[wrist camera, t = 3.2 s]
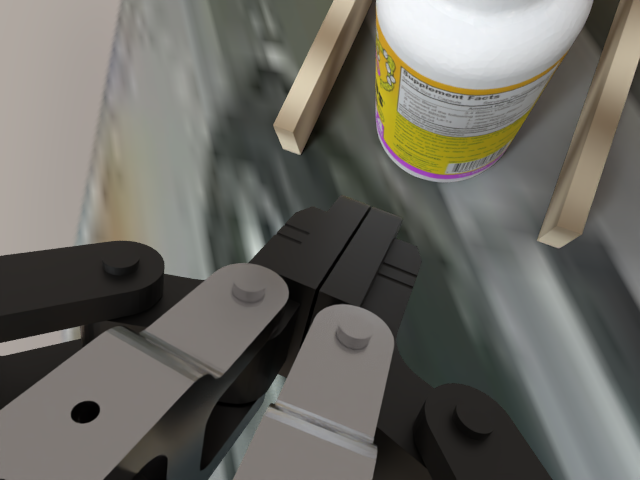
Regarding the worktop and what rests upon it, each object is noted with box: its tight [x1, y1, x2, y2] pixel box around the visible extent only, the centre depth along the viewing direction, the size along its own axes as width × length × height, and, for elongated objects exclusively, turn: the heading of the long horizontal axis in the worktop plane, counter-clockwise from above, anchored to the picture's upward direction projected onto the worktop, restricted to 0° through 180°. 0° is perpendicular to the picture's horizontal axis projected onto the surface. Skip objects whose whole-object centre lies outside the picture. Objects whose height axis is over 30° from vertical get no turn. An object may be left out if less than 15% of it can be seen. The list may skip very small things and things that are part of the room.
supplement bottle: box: [376, 0, 593, 182], centre depth 18 cm, size 7×7×13 cm
